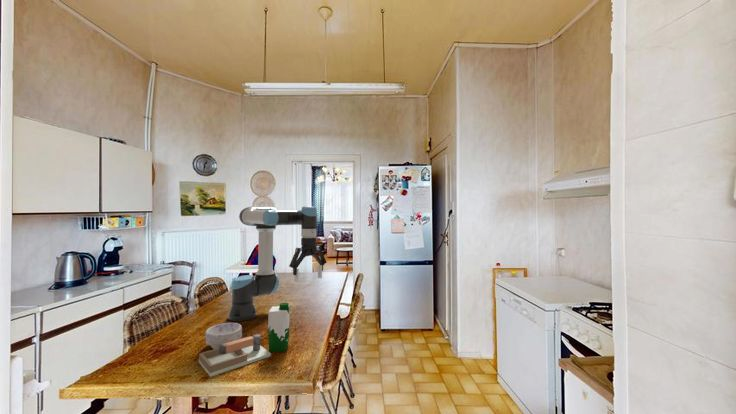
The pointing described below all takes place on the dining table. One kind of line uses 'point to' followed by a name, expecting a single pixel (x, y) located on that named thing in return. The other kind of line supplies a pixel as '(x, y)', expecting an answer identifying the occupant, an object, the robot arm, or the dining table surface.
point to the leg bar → (239, 344)
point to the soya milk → (278, 328)
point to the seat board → (231, 359)
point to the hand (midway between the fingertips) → (308, 279)
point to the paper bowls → (223, 334)
